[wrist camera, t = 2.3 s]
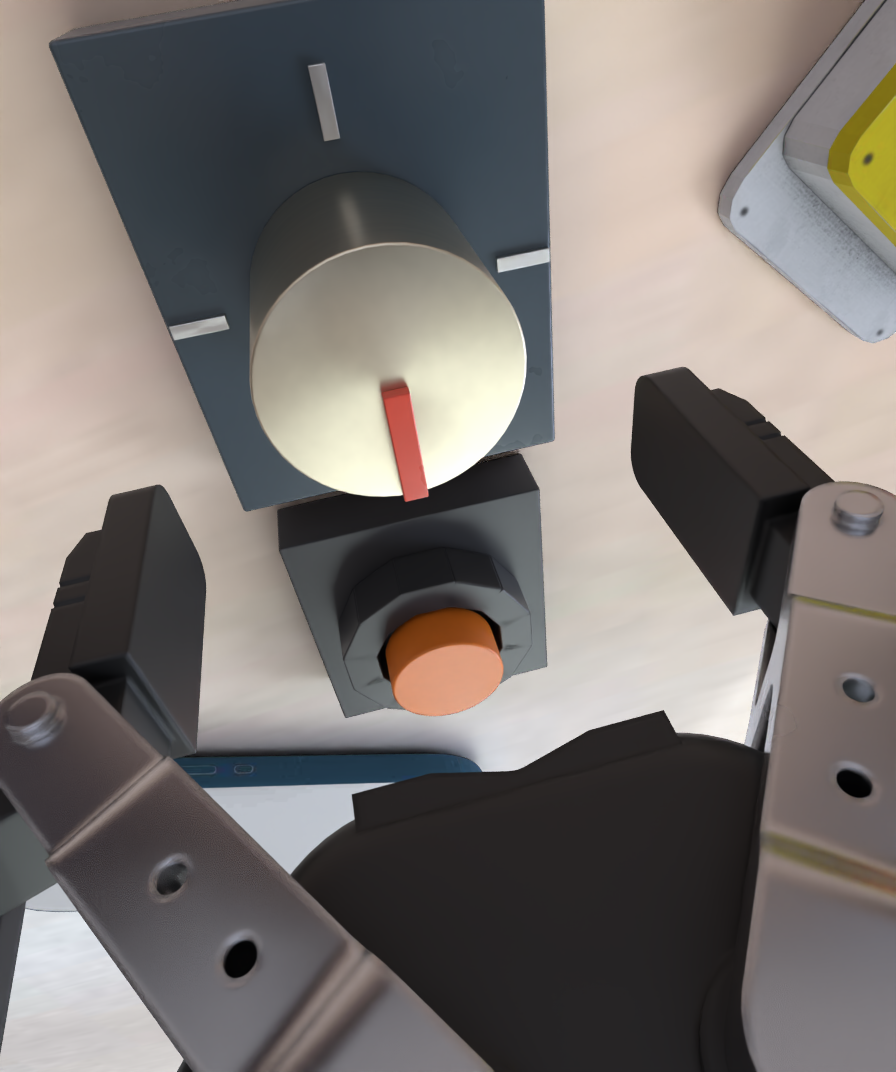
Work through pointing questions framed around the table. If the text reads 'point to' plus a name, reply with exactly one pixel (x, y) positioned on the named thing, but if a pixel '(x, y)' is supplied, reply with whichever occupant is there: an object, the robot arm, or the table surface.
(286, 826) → the external hard drive
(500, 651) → the button box
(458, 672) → the button
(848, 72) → the emergency button
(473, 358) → the dial knob
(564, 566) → the table surface
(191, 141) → the dial panel
